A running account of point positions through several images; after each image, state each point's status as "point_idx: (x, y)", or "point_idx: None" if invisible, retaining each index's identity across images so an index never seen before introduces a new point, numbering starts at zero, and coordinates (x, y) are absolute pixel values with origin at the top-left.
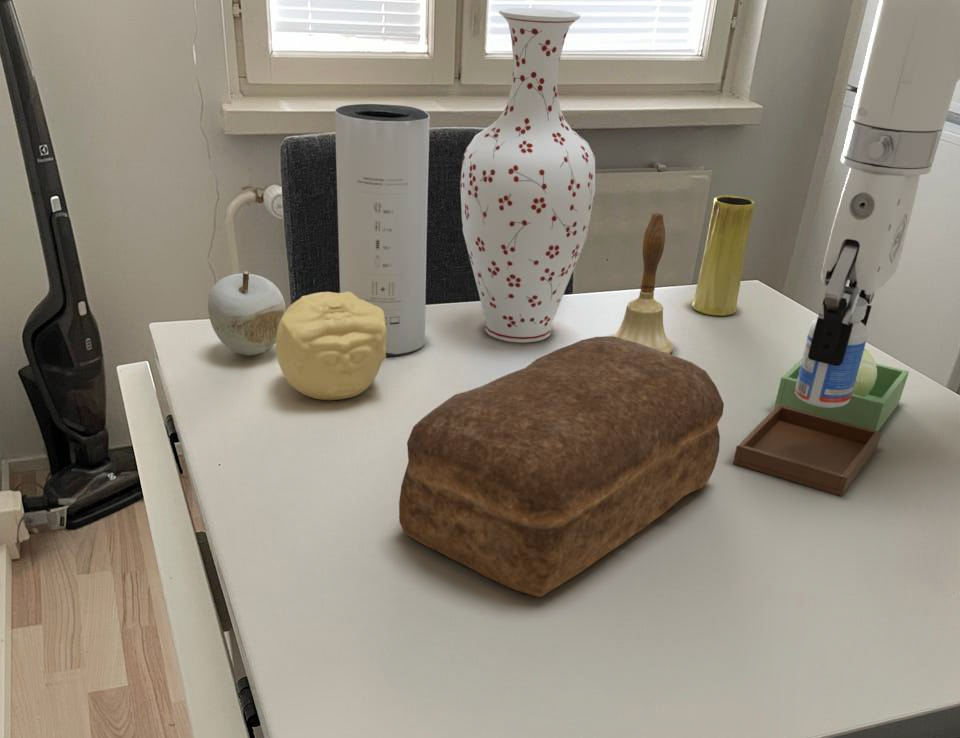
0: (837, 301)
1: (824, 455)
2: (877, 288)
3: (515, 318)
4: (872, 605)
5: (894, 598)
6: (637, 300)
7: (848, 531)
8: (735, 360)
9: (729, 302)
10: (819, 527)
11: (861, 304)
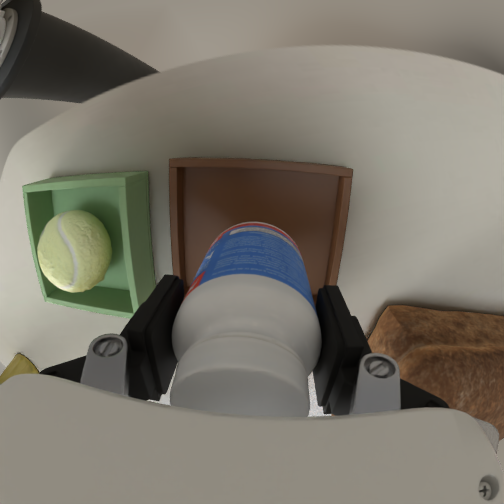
0: (479, 421)
1: (254, 211)
2: (402, 419)
3: None
4: (500, 126)
5: (487, 107)
6: None
7: (417, 149)
8: (81, 346)
9: (21, 365)
10: (422, 179)
11: (259, 380)
